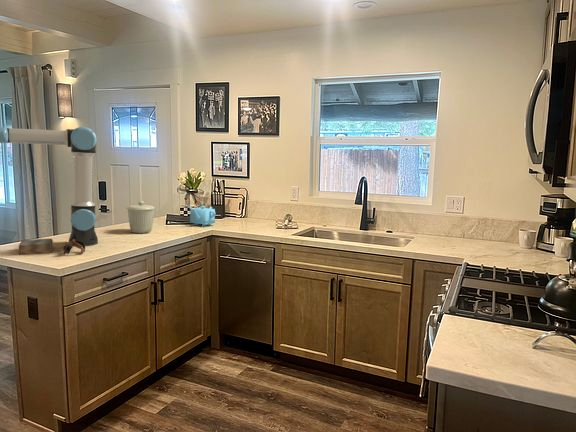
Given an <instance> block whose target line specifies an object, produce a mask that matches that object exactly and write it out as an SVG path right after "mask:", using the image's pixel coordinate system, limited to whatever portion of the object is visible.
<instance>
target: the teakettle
mask: <svg viewBox="0 0 576 432" xmlns="http://www.w3.org/2000/svg"><path fill="white" fill-rule="evenodd" d="M188 208H189V209H190V214H189V215H190V216H189V217H190V218H189V223H190V224H193V226H194V225H198V226H199V225H201V224H202V225H201V227H202V226H208V225H210V226H212V224H215V220H216V218H215V217H216V214H217V213H216V209H215V208H213V206H210V207H209V208H208V207H206V206H205V205H201V206H200V207H194V208H193V207H192V206H188Z"/></svg>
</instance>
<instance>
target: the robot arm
mask: <svg viewBox="0 0 576 432" xmlns="http://www.w3.org/2000/svg"><path fill="white" fill-rule="evenodd" d="M97 141H98V140H97V135H96V133H95V132H94V131H93V129H91V128H90V127H86V126H78V127H76V128H74V129H72V128H66V129H65V130H56V129H55V130H53V129H34V128H33V129H31V128H14V127H13V128H12V127H10V128H8V127H4V126H0V144H5V143H6V144H8V143H9V144H28V145H29V144H31V145H33V144H34V145H53V146H54V145H56V146H65V147H67V148H70V150H71V151H70V152H71V154H72V155H73V156H74V158H73V159H74V164H73V165H74V175H73V176H74V187H73V188H74V190H73V191H74V197H73V198H74V200H73V202H72V203H71V204H70V223H71V232H70V234H69V237H68V243H69V242H71V241H72V240H73V239H75V240H79V241H81V242H82V243H84V244H85V245H86V247H87V246H94V245H97V244H99V238H98V235H97V234H96V230H95V224H96V222H97V217H96V204H95V203H94V202H93V157H94V156H95V155H96V150H97ZM73 247H74V245H73Z"/></svg>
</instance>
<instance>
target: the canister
mask: <svg viewBox="0 0 576 432" xmlns="http://www.w3.org/2000/svg"><path fill="white" fill-rule="evenodd" d="M144 203H145V201H143V200H139V201H138V203H137V204H131V205H128V206H127V207H126V209H127V213H128V224H129V229H130V231H131V232H132V233H134V234H147V233H150V232H152V229H153V225H154V218H155V217H154V216H155V215H154V214H155V209H156V207H155V206H153V205H150V204H144Z"/></svg>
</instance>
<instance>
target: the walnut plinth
mask: <svg viewBox="0 0 576 432" xmlns="http://www.w3.org/2000/svg"><path fill="white" fill-rule="evenodd" d="M53 241H54V240H53V238H30V239H22V240H21V241H20V243H19V244H18V255H19V256H24V255H42V254H52V251H53V248H54V244H53V243H54V242H53Z"/></svg>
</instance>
